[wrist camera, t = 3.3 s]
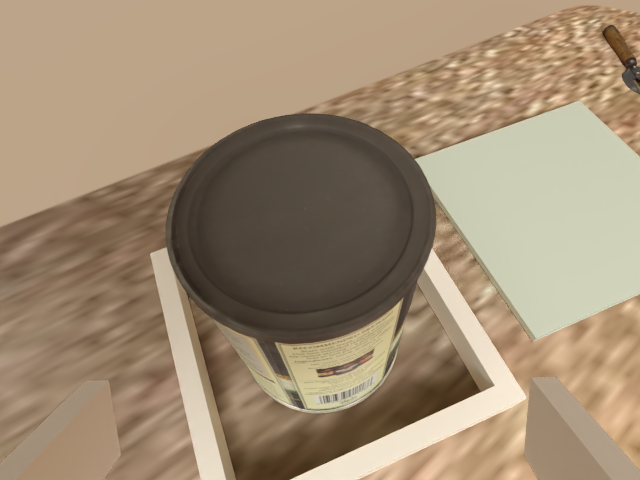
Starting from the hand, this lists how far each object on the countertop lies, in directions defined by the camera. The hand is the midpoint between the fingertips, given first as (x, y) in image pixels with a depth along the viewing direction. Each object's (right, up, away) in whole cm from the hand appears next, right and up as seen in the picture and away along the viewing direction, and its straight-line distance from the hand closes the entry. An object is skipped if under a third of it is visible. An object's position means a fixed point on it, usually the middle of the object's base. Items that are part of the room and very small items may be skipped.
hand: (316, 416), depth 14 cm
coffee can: (0, -1, +15) cm, 15 cm away
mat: (+18, +8, +19) cm, 27 cm away
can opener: (+28, +22, +27) cm, 45 cm away
